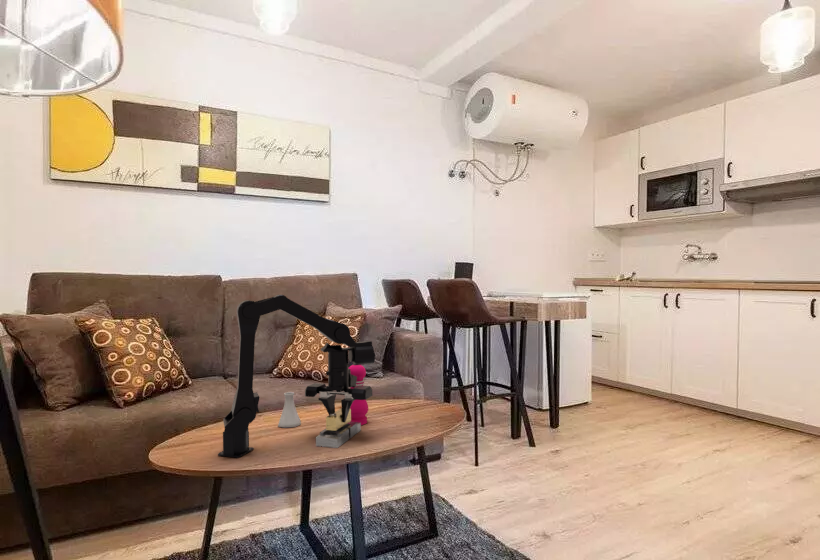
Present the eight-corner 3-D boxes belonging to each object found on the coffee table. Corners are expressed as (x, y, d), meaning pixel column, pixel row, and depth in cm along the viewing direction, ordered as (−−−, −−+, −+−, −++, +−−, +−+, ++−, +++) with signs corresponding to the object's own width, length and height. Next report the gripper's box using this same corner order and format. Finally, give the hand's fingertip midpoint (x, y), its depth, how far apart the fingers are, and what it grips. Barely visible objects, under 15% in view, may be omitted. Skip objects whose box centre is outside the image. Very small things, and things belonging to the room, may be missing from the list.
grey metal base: (337, 448, 125) (337, 436, 125) (315, 446, 127) (315, 434, 127) (360, 430, 140) (360, 420, 140) (341, 428, 142) (341, 419, 142)
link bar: (341, 420, 139) (341, 406, 139) (350, 420, 138) (350, 406, 138) (325, 429, 129) (325, 414, 129) (335, 430, 128) (335, 415, 128)
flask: (304, 421, 151) (304, 390, 151) (296, 428, 143) (296, 395, 144) (282, 421, 151) (282, 390, 151) (273, 428, 144) (273, 395, 144)
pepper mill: (365, 418, 153) (364, 357, 153) (371, 424, 146) (370, 360, 146) (343, 421, 150) (342, 358, 151) (348, 427, 144) (347, 361, 144)
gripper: (378, 363, 139) (379, 416, 139) (322, 361, 144) (322, 412, 144) (364, 369, 128) (365, 427, 128) (303, 367, 134) (304, 422, 133)
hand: (338, 421), depth 134 cm, fingers closed on link bar, 3 cm apart
